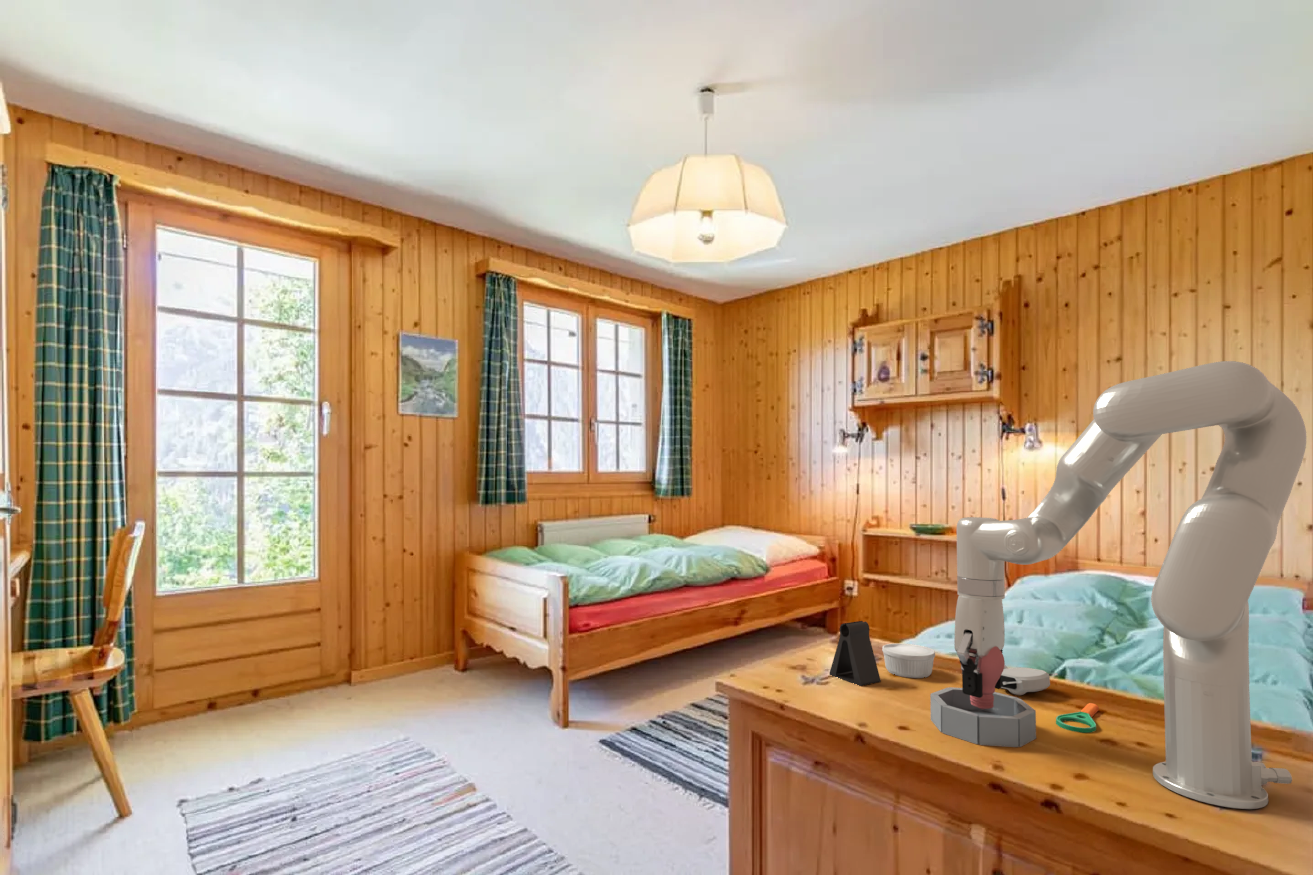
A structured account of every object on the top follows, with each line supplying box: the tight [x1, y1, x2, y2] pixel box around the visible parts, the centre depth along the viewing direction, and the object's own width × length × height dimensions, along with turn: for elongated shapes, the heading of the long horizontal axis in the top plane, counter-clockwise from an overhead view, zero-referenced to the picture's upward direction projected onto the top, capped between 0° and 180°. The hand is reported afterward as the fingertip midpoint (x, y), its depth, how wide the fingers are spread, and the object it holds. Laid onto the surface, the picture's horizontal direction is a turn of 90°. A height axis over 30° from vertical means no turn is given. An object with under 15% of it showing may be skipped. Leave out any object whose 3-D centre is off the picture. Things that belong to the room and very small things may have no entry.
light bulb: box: [969, 646, 1006, 709], centre depth 117 cm, size 7×7×12 cm
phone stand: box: [829, 620, 881, 687], centre depth 144 cm, size 9×6×12 cm, turn 31°
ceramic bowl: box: [930, 686, 1037, 748], centre depth 116 cm, size 15×15×4 cm
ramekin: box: [881, 643, 936, 679], centre depth 150 cm, size 11×11×5 cm
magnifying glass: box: [1055, 702, 1100, 734], centre depth 121 cm, size 15×6×2 cm, turn 134°
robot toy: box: [1000, 665, 1059, 696], centre depth 140 cm, size 12×4×15 cm
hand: (982, 690), depth 116 cm, fingers closed on light bulb, 6 cm apart
